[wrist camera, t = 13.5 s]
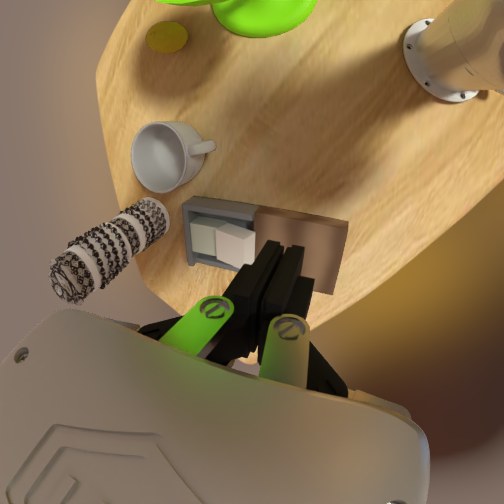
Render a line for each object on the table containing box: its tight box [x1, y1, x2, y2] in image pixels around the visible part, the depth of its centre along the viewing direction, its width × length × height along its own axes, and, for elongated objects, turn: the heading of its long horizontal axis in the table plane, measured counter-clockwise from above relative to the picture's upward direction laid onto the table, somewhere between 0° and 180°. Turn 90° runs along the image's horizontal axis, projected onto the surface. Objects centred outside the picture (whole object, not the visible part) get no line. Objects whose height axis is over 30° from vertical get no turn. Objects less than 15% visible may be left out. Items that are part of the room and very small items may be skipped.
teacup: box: [131, 121, 216, 193], centre depth 39 cm, size 14×11×8 cm
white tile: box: [216, 223, 255, 269], centre depth 44 cm, size 6×6×3 cm
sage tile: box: [190, 216, 227, 256], centre depth 47 cm, size 6×6×3 cm
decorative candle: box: [49, 197, 170, 305], centre depth 42 cm, size 9×9×25 cm
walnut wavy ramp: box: [252, 205, 349, 295], centre depth 44 cm, size 14×12×3 cm
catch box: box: [182, 196, 260, 272], centre depth 47 cm, size 12×12×4 cm
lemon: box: [146, 21, 188, 54], centre depth 30 cm, size 6×6×8 cm
